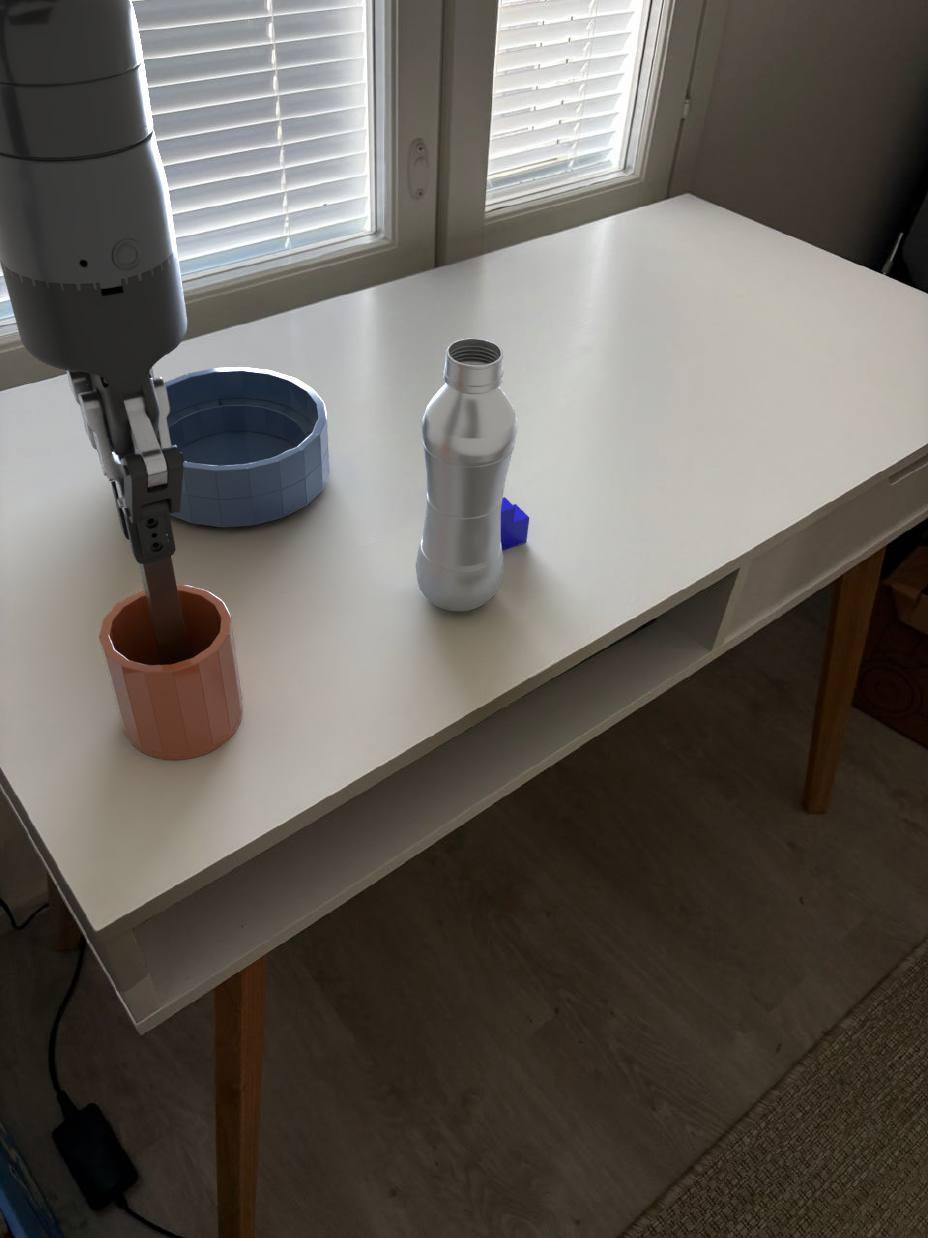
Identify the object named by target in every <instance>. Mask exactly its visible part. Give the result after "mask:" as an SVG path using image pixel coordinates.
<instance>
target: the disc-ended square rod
mask: <svg viewBox="0 0 928 1238" xmlns="http://www.w3.org/2000/svg"><path fill="white" fill-rule="evenodd" d="M138 566H139V571H140V575H141V576H140V577H141V581H142V585H143V590H145V595H146V599H147V604H148V609H149V613H150V618H151V623H152V627H153V632H154V637H155V641H156V646H157V651H158V655H159V660H160V661H159V662H158V663H156V664H155V665H171V664H175V663H178V662H181V661H184V660H188V659H191V658H193V657H195V656H190V654H189V649H188V644H187V638H186V633H185V627H184V622H183V617H182V611H181V606H180V600H179V595H178V590H177V585H178V584H177V579H176V573H175V568H174V564H173V558H172V556H170V557H168V558H164V559H161V560H157V561H153V562H150V563H146V564H141V563H138Z"/></svg>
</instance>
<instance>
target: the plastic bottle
mask: <svg viewBox="0 0 928 1238" xmlns="http://www.w3.org/2000/svg"><path fill="white" fill-rule="evenodd" d="M444 360H445V361H444V362H445V363H444V367H443V372H442V373H443V374H442V377H443V381H444V382H445V384H443V386H442V387H441V388H439V390H438V391H437V392H436V393H435V394H434V396H433V398H431V400H430V401H429V403H428V404H427V406H426V408H425V411H424V414H423V416H422V421H421V437H422V443H423V453H424V461H425V469H426V510H425V517H424V525H423V531H422V537H421V540H420V544H419V546H418V551H417V556H416V561H415V573H416V578H417V585H418V587H419V590H420V591H421V593H422V594H423V596H424V597H425V598H426V599H427V600H428V601H430V603H431V604H433V605H435V606H436V607H437V608H440V609H442V610H444V611H445V610H446V611H450V612H468V611H472V610H475V609H478V608H480V607H481V606H483V605H484V604H486V603H487V602H489V601H490V600H491V599H492V598H493V597H494V595H495V594H497V592H498V588H499V586H500V583H501V580H502V578H503V575H504V553H503V550H502V546H501V504H502V498H503V497H504V493H505V492H504V491H505V485H506V479H507V475H508V472H509V467H510V464H511V460H512V457H513V452H514V449H515V445H516V443H517V442H516V441H517V436H518V431H519V423H518V419H517V414H516V410H515V408H514V406H513V404H512V403H511V401H510V399H509V398H508V396H507V394H506V393H505V392H504V390H503V389H502V387H500V386H501V385H502V383H503V380H504V369H503V365H504V352H503V349H502V347H500V345H499V344H498V343H496V342H493V341H491V340H489V339H485V338H478V337H466V338H460V339H457V340H455V341H453V342H451V343H450V344H449V345H448V346H447V347H446V350H445V359H444Z"/></svg>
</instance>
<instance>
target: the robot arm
mask: <svg viewBox="0 0 928 1238" xmlns="http://www.w3.org/2000/svg"><path fill="white" fill-rule="evenodd" d="M141 43H142V42H141V38H140V33H139V28H138V22H137V18H136V14H135V9H134V6H133V3H132V0H0V267H1V271H2V275H3V278H4V283H5V286H6V290H7V294H8V297H9V300H10V304H11V308H12V312H13V316H14V318H15V323H16V327H17V330H18V334H19V338H20V341H21V343H22V345H23V347H24V349H25V350H26V351H27V352H28V353H29V354H30V355H31V357H33V358H35V359H36V360H38V361H39V362H40V363H43V364H45V365H47V366H49V367H52V368H55V369H59V370H62V371H66V375H67V379H68V380H67V381H68V384H69V388H70V390H71V392H72V395H73V397H74V399H75V402H76V403H77V404H78V405H79V408H80V412H81V417H82V422H83V427H84V429H85V430H84V431H85V434H86V436H87V438H88V441H89V442H90V444H91V447H92V448H93V449H94V450H96V453H97V455H98V459H99V464H100V465H101V469H102V473H103V476H104V477H105V476H106V478H107V481H108V482H110V483H111V484H110V485H111V489H112V491H113V492H112V493H113V497H114V501H115V506H116V510H117V515H118V519H119V524H120V528H121V531H122V534H123V535H124V537H125V539H126V540H128V541H129V543H130V548H131V552H132V555H133V557H134V559H135V561H136V562H137V563H138V564H139V563H141V564H146V563H150V562H153V561H157V560H161V559H164V558H168V557H170V556H171V557H172V556H174V554H175V553H176V551H177V549H176V544H175V543H176V542H175V538H174V531H173V525H172V521H171V515H169V513H170V514H173V513H177V512H180V505H181V494H182V482H183V470H184V467H183V463H184V457H183V454H182V452H180V451H179V449H178V447H177V446H176V445H174V446H172V445H171V440H170V434H169V429H168V423H167V416H168V415H169V413H170V406H169V400H168V395H167V390H166V386H165V384H164V382H165V381H164V379H163V377H162V376H159V377H155V376H154V375H155V374H154V370H153V369H154V368H153V367H154V366H155V365H156V363H158V362H159V361H160V360H161V359H162V358H164V357H165V356H167V355H169V354H170V353H172V352H173V351H174V350H175V349H177V348H178V346H179V345H180V344H181V343H182V341H183V340H184V338H185V336H186V334H187V330H188V318H187V317H188V316H187V308H186V302H185V295H184V289H183V282H182V281H183V280H182V276H181V269H180V268H181V267H180V261H179V255H178V253H179V252H178V248H177V241H176V233H175V227H174V219H173V214H172V213H173V212H172V206H171V200H170V199H171V198H170V193H169V187H168V186H169V185H168V181H167V177H166V173H165V169H164V166H163V162H162V159H161V155H160V153H159V148H158V145H157V141H156V135H155V131H154V123H153V118H152V117H153V116H152V110H151V105H150V104H151V103H150V97H149V89H148V83H147V77H146V68H145V63H144V59H143V56H144V55H143V50H142V44H141Z"/></svg>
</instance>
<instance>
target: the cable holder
mask: <svg viewBox="0 0 928 1238" xmlns="http://www.w3.org/2000/svg"><path fill="white" fill-rule="evenodd" d="M529 525H530V516H529V515H528V514H527V513H525V511H524V510H522V509H521V508H520V506H519V505H518V504H516V503H514V504H513V503H511V501H510V500H508V499H507V497H505V496H503V498H502V504H501V546H502V551H505V550H508V549H511V548H514V547H518V546H520V545H522V544H523V545H524V544H525V543H526V544H527V540H528V533H529Z"/></svg>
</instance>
